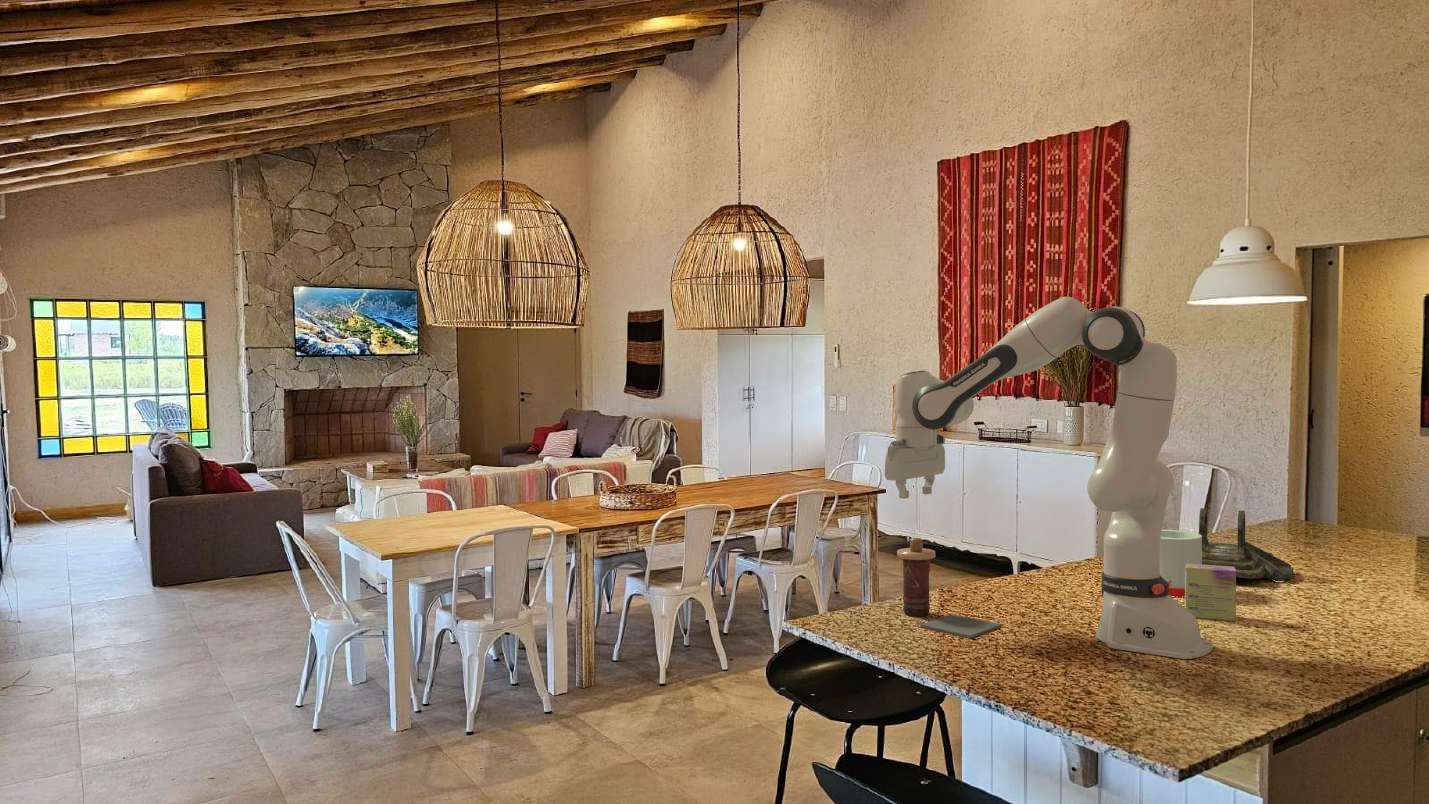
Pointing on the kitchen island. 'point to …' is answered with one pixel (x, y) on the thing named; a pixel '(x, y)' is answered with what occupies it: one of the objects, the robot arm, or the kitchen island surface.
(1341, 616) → the kitchen island surface
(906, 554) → the lid
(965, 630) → the mat
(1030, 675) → the kitchen island surface
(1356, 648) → the kitchen island surface
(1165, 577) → the container
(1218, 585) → the box
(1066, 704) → the kitchen island surface
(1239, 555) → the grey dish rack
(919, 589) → the can
